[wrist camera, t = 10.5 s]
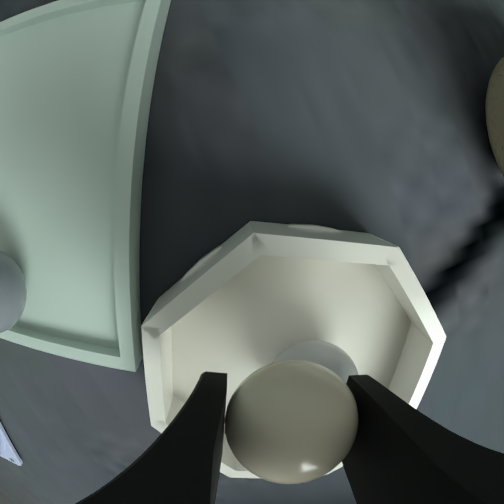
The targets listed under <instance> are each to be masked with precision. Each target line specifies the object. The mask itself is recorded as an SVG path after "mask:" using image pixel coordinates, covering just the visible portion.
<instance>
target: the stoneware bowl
mask: <svg viewBox="0 0 504 504" xmlns="http://www.w3.org/2000/svg"><path fill="white" fill-rule="evenodd" d="M141 329H142V345H143V358H144V369H145V379H146V389H147V397H148V405H149V413H150V420H151V426H152V427H154V428H155V429H156V430H158V431H159V432H160V433H162V432H163V431H164V430H165V429H166V428H167V426H168V425H169V424H170V423H171V422H172V420H173V419H174V418H175V416H176V415H177V414H178V412H179V411H180V409H181V408H182V407H183V405H184V404H185V402H186V401H187V399H188V398H189V396H190V395H191V393H192V391H193V390H194V388H195V386H196V384H197V382H198V380H199V378H200V376H201V374H202V373H204V372H205V371H207V372H218V373H227V395H226V409H225V415H226V410H227V406H228V403H229V401H230V399H231V396H232V395H233V393H234V392H235V390H236V388H237V387H238V386H239V385H240V383H241V382H242V381H243V380H244V379H245V378H246V377H248V376H249V375H250V374H251V373H253V372H254V371H256V370H258V369H259V368H261V367H263V366H265V365H268V364H271V363H272V362H273V360H274V359H275V358H276V357H277V356H278V355H279V354H280V353H281V352H282V351H283V350H284V349H286V348H288V347H289V346H291V345H293V344H296V343H298V342H301V341H306V340H322V341H326V342H330V343H332V344H334V345H337V346H338V347H340V348H341V349H343V350H344V351H345V352H346V353H347V354H348V355H349V356H350V357H351V359H352V360H353V362H354V364H355V366H356V368H357V371H358V375H369V376H370V377H372V378H373V379H375V380H376V381H378V382H379V383H381V384H382V385H383V386H385V387H386V388H387V389H389V390H390V391H391V392H393V393H394V394H396V395H397V396H398V397H400V398H401V399H402V400H404V401H405V402H406V403H408V404H409V405H411V406H412V407H413V408H415V409H417V407H418V405H419V403H420V400H421V398H422V396H423V394H424V392H425V389H426V387H427V385H428V383H429V380H430V378H431V376H432V373H433V371H434V368H435V366H436V363H437V361H438V358H439V355H440V353H441V350H442V347H443V345H444V342H445V339H446V335H445V333H444V331H443V329H442V326H441V324H440V322H439V320H438V318H437V316H436V314H435V312H434V310H433V308H432V306H431V304H430V302H429V300H428V298H427V296H426V294H425V293H424V291H423V289H422V287H421V285H420V283H419V281H418V279H417V278H416V276H415V274H414V272H413V270H412V269H411V267H410V265H409V263H408V262H407V260H406V258H405V256H404V255H403V253H402V251H401V250H400V247H398V246H396V245H394V244H392V243H389V242H387V241H385V240H383V239H381V238H379V237H377V236H374V235H372V234H370V233H363V232H354V231H345V230H338V229H335V228H331V227H326V226H320V225H315V224H294V223H293V224H279V223H268V222H258V221H249V222H248V223H247V224H246V225H245V226H243V227H242V228H241V229H240V230H239V231H237V232H236V233H235V234H234V235H232V236H231V237H230V238H229V239H228V240H226V241H225V242H224V243H223V244H221V245H219V246H217V247H216V248H214V249H213V250H212V251H210V252H209V253H208V254H206V255H205V256H203V257H202V258H201V259H200V260H199V261H198V262H197V263H195V264H194V265H193V266H192V267H191V268H190V269H189V270H188V271H187V272H186V274H185V275H184V276H183V277H182V278H181V279H180V280H179V281H178V282H177V283H175V284H174V285H173V286H172V287H171V288H170V289H168V290H167V291H166V292H165V293H164V294H163V295H161V296H160V297H159V298H158V300H157V301H156V303H155V304H154V306H153V308H152V309H151V311H150V312H149V314H148V316H147V317H146V319H145V320H144V322H143V324H142V325H141ZM342 466H343V464H342V462H341V463H340V464H338V465H337V466H336V467H335V468H334V469H333V470H331V471H330V472H328V473H327V474H329V473H331V472H333V471H335V470H337V469H339V468H340V467H342ZM220 472H221V473H223V474H224V475H226V476H228V477H233V478H260V477H258V476H256V475H254V474H252V473H251V472H249V471H248V470H247V469H246V468H245V467H243V466H242V465H241V464H240V463H239V461H238V460H237V459H236V458H235V456H234V455H233V453H232V451H231V449H230V447H229V445H228V442H227V438H226V434H225V424H224V438H223V453H222V460H221V466H220ZM327 474H325V475H327Z"/></svg>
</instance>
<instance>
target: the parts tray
mask: <svg viewBox="0 0 504 504" xmlns="http://www.w3.org/2000/svg"><path fill="white" fill-rule="evenodd" d="M170 3H171V0H58V1H55V2H52V3H49V4H46V5H43V6H40V7H37V8H34V9H31V10H29V11H26V12H24V13H21V14H18V15H16V16H14V17H11V18H9V19H6V20H4V21H2V22H0V251H2V252H4V253H6V254H7V255H9V256H10V257H11V258H12V259H13V260H14V261H15V262H16V263H17V264H18V266H19V267H20V269H21V271H22V273H23V276H24V279H25V282H26V289H27V298H26V305H25V309H24V311H23V314H22V316H21V317H20V319H19V320H18V322H17V323H16V324H15V325H14V326H13V327H12V328H10V329H9V330H7V331H4V332H2V333H0V338H2V339H5V340H8V341H11V342H14V343H17V344H20V345H24V346H27V347H30V348H34V349H37V350H40V351H44V352H48V353H51V354H55V355H59V356H63V357H67V358H71V359H75V360H79V361H83V362H88V363H92V364H97V365H102V366H106V367H111V368H117V369H122V370H127V371H133V372H136V370H137V368H138V366H139V364H140V362H141V360H142V358H143V346H142V331H141V311H140V216H141V196H142V180H143V167H144V156H145V146H146V136H147V128H148V120H149V112H150V105H151V98H152V91H153V85H154V79H155V73H156V67H157V62H158V57H159V51H160V46H161V42H162V37H163V32H164V28H165V23H166V19H167V15H168V11H169V7H170Z"/></svg>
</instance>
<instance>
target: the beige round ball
mask: <svg viewBox="0 0 504 504" xmlns="http://www.w3.org/2000/svg"><path fill="white" fill-rule="evenodd" d="M357 430H358V409H357V404H356V401H355V399H354V396H353V394H352V392H351V390H350V389H349V387H348V386H347V384H346V383H345V382H344V381H343V380H342V379H341V378H340V377H339V376H338V375H337V374H336V373H334V372H333V371H331V370H330V369H328V368H326V367H324V366H322V365H320V364H317V363H314V362H311V361H305V360H283V361H278V362H274V363H271V364H268V365H265V366H263V367H261V368H259V369H258V370H256V371H254V372H253V373H251V374H250V375H249V376H248V377H246V378H245V379H244V380H243V381H242V382H241V383H240V385H239V386H238V387H237V388H236V390H235V392H234V393H233V395H232V396H231V399H230V401H229V403H228V406H227V410H226V415H225V434H226V438H227V442H228V445H229V447H230V449H231V451H232V453H233V455H234V456H235V458H236V459H237V460H238V461H239V463H240V464H241V465H242V466H243V467H245V468H246V469H247V470H248V471H249V472H251V473H252V474H254V475H256V476H258V477H260V478H262V479H264V480H267V481H270V482H275V483H281V484H297V483H304V482H308V481H311V480H315V479H317V478H319V477H321V476H323V475H325V474H327V473H328V472H330V471H331V470H333V469H334V468H335V467H336V466H337V465H338V464H340V463H341V462H342V460H343V459H344V458H345V457H346V455H347V454H348V453H349V451H350V449H351V447H352V445H353V443H354V441H355V438H356V435H357Z"/></svg>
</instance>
